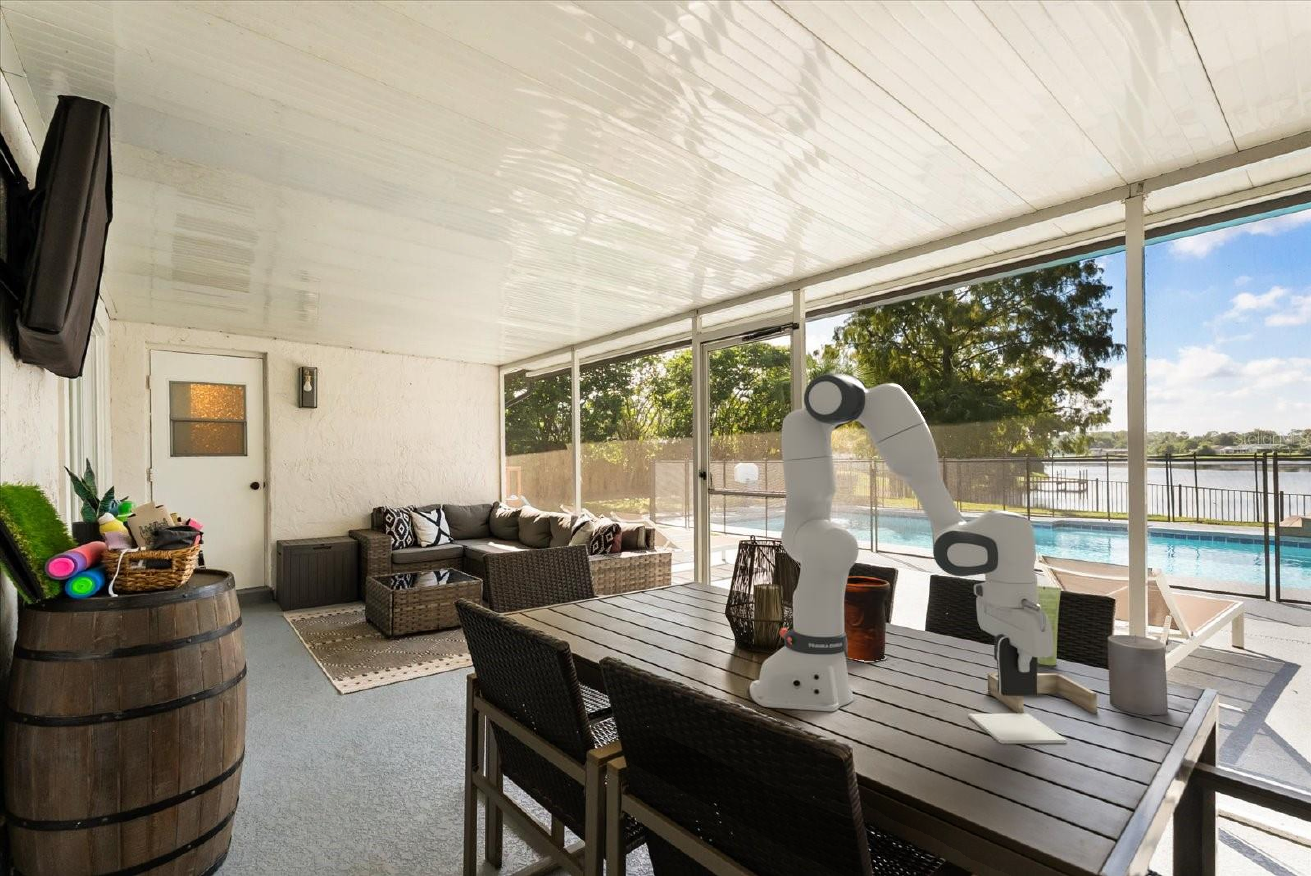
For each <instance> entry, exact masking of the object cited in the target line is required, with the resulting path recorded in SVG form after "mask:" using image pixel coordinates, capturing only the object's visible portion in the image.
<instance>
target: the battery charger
mask: <svg viewBox="0 0 1311 876" xmlns="http://www.w3.org/2000/svg"><path fill="white" fill-rule="evenodd" d="M993 643H994V646H993V647H994V648H993V657H994V660H995V661H996V667H997V674H998V685H997V689H998V692H999V693H1000V694H1001V695H1003V696H1023V697H1035V696H1038V693H1037V674H1038V663H1037V657H1033V656H1032V659H1031V661H1030V663H1029V667H1030V670H1029V672H1021V671H1019V670H1017V669H1016V660H1018V659H1019V654H1018V649H1017V648H1016V647H1014V646H1012V645H1011V644H1010V639H1009V638H1008V637H1007V636H1005V635H1003V634H999V635H997V636H996V637H995V638H994V642H993Z"/></svg>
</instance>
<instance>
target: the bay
mask: <svg viewBox="0 0 1311 876" xmlns="http://www.w3.org/2000/svg"><path fill="white" fill-rule="evenodd" d="M997 685H998V673H987V693H988V694H990V695H992V696H993V697H994V698H996V699H997V700H998V701H1000V702H1001V703H1003V704H1004V705H1005V706H1007V707H1009V708H1010V709H1012V710H1013V711H1014V712H1016V714H1018V713H1024V710H1025V709H1024V696H1003V695H1001V694H1000V693H999V692H998V689H997ZM1037 694H1059V695H1061V697H1064V698H1066V699H1067V700H1069V701H1071V702H1073V703H1074V704H1076V705H1077V706H1080V707H1081V708H1083V709H1085V710H1087V711H1088V712H1090V713H1092V714H1098V699H1097V697H1098V695H1097V692H1095V691H1093V690H1091V689H1090V688H1087V687H1086V686H1083V684H1080V683H1078V682H1076V681H1074V680H1073V679H1072V678H1071V679H1070V678H1069V677H1067V676H1065V675H1063V674H1061V673H1058V672H1057V673H1051V672H1050V673H1037Z"/></svg>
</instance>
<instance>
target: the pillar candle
mask: <svg viewBox="0 0 1311 876" xmlns="http://www.w3.org/2000/svg"><path fill="white" fill-rule="evenodd" d="M1107 657H1108V686H1109V688H1108V689H1109V702H1110V705H1112V706H1113V707H1115V708H1117V709H1119V710H1122V711H1125V712H1128V713H1132V714H1136V715H1141V716H1166V715H1167V713H1168V712H1169V709H1168V708H1169V706H1168V705H1169V704H1168V703H1169V702H1168V687H1167V686H1168V685H1167V669H1166V668H1167V667H1166V666H1167V664H1166V661H1167V660H1166V646H1165V644H1164V643H1163V642H1161V641H1159V640H1156V639H1153V638H1149V637H1144V636H1138V635H1137V634H1134V635H1130V634H1129V635H1128V634H1127V635H1126V634H1113V635H1112V634H1111V635H1109V636H1108V637H1107Z"/></svg>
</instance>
